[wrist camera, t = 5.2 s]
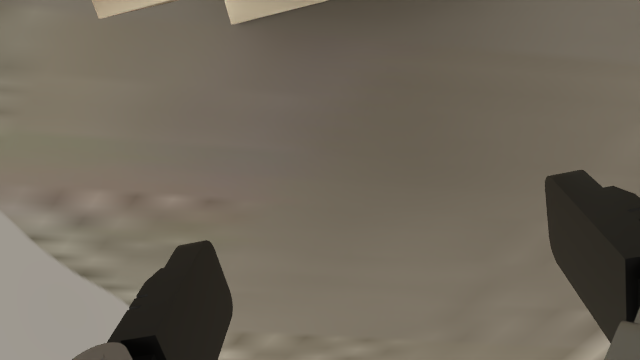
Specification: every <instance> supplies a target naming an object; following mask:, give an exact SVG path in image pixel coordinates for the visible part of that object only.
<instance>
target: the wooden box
mask: <svg viewBox="0 0 640 360" xmlns="http://www.w3.org/2000/svg"><path fill="white" fill-rule="evenodd" d="M174 1H178V0H92V2H93V5H94V7H95V10H96V12H97V15H98V17H99V19H101V18H105V17H109V16H114V15H118V14H122V13H127V12H131V11H135V10H139V9H144V8H148V7H152V6H157V5H161V4H165V3H169V2H174ZM224 1H225V4H226V8H227V11H228V14H229V18H230V21H231V25H233V24H237V23H241V22H245V21H249V20H253V19H256V18H260V17H264V16H268V15H272V14H276V13H280V12H284V11H288V10H292V9H296V8H300V7H304V6H308V5H312V4H316V3H320V2H324V1H328V0H224Z"/></svg>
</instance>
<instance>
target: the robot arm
mask: <svg viewBox="0 0 640 360" xmlns="http://www.w3.org/2000/svg"><path fill="white" fill-rule="evenodd" d="M545 193H546V205H547V217H548V229H549V239H550V245H551V249H552V252H553V255H554V258H555V260H556V262H557V264H558V265H559V267H560V268H561V270H562V271H563V273H564V274H565V276H566V277H567V279H568V280H569V282H570V283H571V285H572V286H573V288H574V289H575V291H576V292H577V294H578V295H579V297H580V298H581V300H582V301H583V303H584V304H585V306H586V307H587V309H588V310H589V312H590V313H591V315H592V316H593V318H594V319H595V320H596V322H597V323H598V325H599V326H600V328H601V329H602V331H603V332H604V334H605V335H606V337H607V338H608V340H609V341H610V343H611V345H610V347H609V349H608V352H607V354H606V357H605V359H604V360H640V198H639V197H638V196H637V195H636V194H634V193H631V192H628V191H625V190H623V189H620V188H617V187H615V186H610V187H604V188H603V187H602V186H600V185H599V184H598V183H597V182H596V181H595V180H594V179H593V178H592V177H591V176H590V175H588V174H587V173H586V172H585V171H584V170H577V171H572V172H567V173H562V174H556V175H551V176H547V177H546V180H545ZM232 311H233V306H232V297H231V293H230V290H229V287H228V285H227V282H226V279H225V277H224V274H223V271H222V268H221V266H220V263H219V260H218V257H217V255H216V252H215V249H214V247H213V245H212V244H211V242H210V241H207V240H206V241H201V242H195V243H190V244H185V245H180V246H178V247H177V248H176V249H175V251H174V252H173V254H172V256H171V257H170V259H169V261H168V262H167V264H166V266H165V267H164V268H161V269H160V270H159V271H157V272H156V273H155V274H154V275H153V276H152V277H151V278H149V279H148V280H147V281H146V282H145V283H144V285H143V286H142V288H141V290H140V291H139V293H138V294H137V298H136V299H134V301H133V302H132V304H131V305H130V307H129V310H127V312H126V313H125V315H124V316H123V318H122V320H121V321H120V323H119V324H118V326H117V328H116V329H115V331H114V332H113V334H112V335H111V337H110V339H109V340H108V342H107V343H104V344H101V345H97V346H95V347H92V348H90V349H88V350H86V351H84V352H82V353H81V354H79V355H77V356H76V357H75V358H74V359H72V360H218V357H219V354H220V351H221V348H222V345H223V342H224V339H225V336H226V333H227V330H228V327H229V324H230V321H231V318H232Z"/></svg>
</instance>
